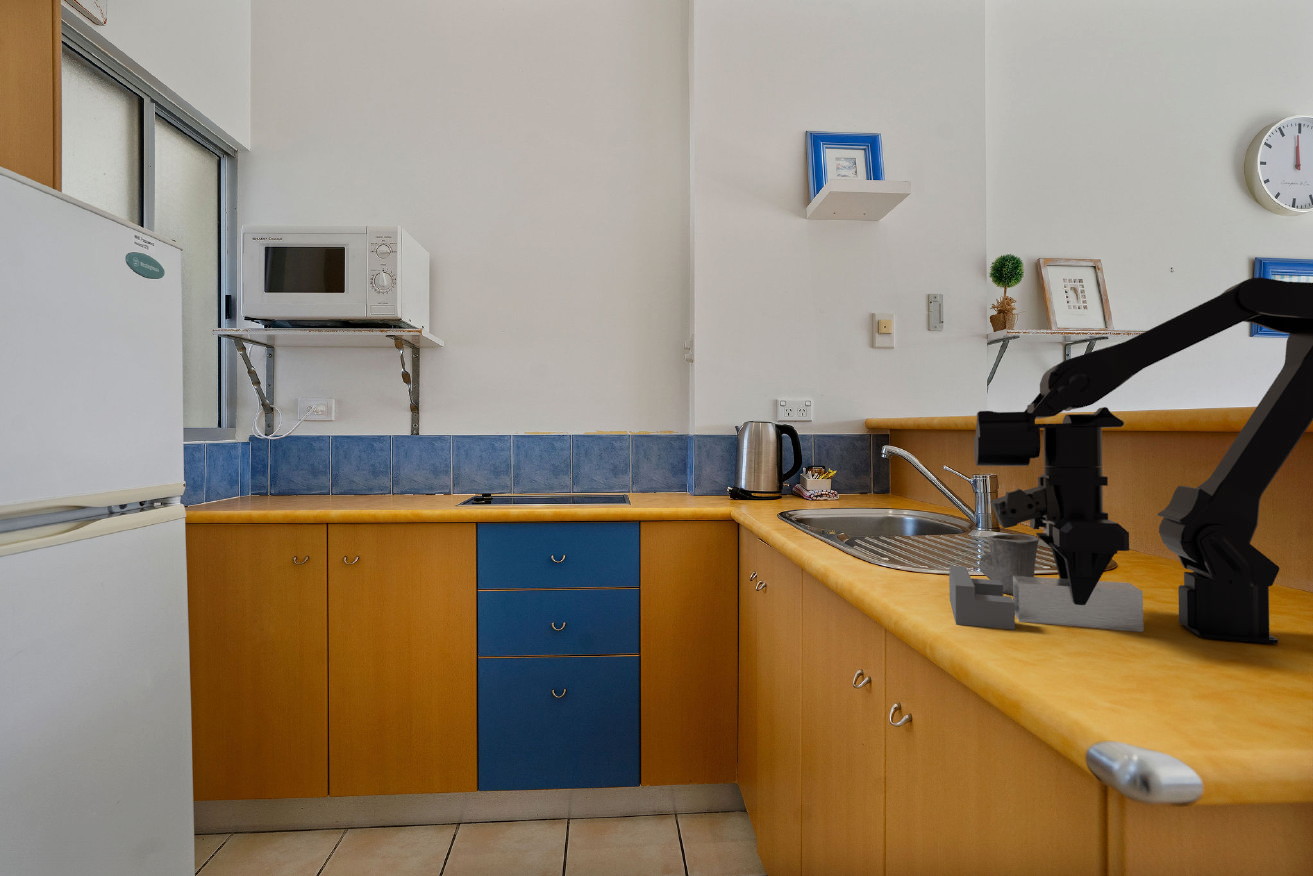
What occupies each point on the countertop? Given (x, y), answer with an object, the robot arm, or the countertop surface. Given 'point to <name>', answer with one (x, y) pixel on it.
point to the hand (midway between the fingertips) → (1074, 599)
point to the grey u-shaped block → (979, 601)
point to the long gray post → (1055, 605)
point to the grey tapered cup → (1009, 558)
